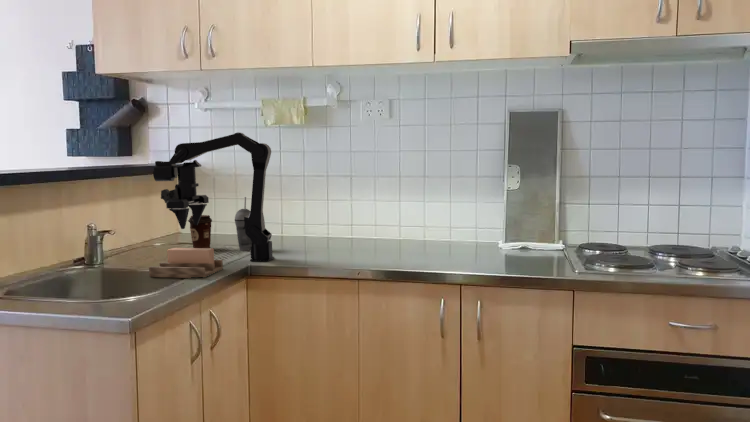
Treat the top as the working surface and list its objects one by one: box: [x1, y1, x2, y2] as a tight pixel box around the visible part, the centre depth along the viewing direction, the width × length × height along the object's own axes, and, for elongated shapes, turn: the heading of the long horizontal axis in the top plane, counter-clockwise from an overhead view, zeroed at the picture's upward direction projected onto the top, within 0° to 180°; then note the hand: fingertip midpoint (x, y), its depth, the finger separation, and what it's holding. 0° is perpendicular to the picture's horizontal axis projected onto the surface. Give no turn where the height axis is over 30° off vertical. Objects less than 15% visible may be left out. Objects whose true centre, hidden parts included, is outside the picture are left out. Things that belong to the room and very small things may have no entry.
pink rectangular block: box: [166, 247, 215, 267], centre depth 190 cm, size 14×4×6 cm, turn 78°
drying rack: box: [148, 259, 224, 279], centre depth 188 cm, size 18×13×3 cm
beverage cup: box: [234, 196, 252, 252], centre depth 225 cm, size 7×7×20 cm
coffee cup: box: [187, 214, 213, 248], centre depth 229 cm, size 9×8×13 cm
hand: (189, 226), depth 204 cm, fingers open, 9 cm apart
